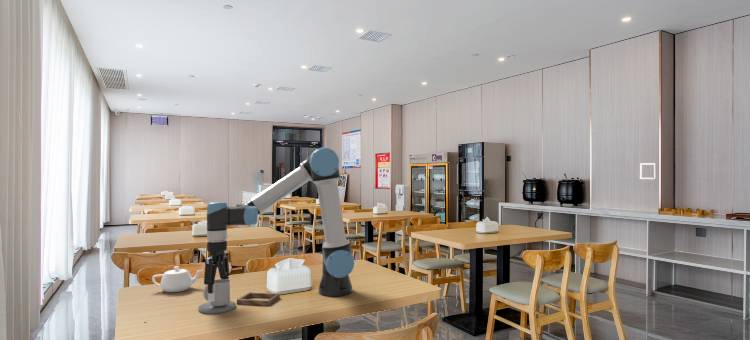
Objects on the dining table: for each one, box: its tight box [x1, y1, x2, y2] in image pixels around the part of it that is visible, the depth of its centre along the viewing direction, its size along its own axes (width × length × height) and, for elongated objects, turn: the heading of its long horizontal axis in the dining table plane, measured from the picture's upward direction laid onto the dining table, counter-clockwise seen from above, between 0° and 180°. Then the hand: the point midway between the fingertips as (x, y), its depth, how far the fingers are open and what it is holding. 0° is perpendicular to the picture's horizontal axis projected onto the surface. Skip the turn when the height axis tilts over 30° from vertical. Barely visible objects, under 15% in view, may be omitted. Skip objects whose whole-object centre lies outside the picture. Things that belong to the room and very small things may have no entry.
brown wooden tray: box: [236, 291, 281, 307], centre depth 181 cm, size 14×11×2 cm
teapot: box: [151, 265, 203, 293], centre depth 199 cm, size 22×14×11 cm, turn 109°
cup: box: [202, 278, 231, 306], centre depth 171 cm, size 7×10×9 cm
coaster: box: [197, 300, 237, 315], centre depth 171 cm, size 14×14×1 cm
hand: (217, 298), depth 171 cm, fingers closed on cup, 7 cm apart
